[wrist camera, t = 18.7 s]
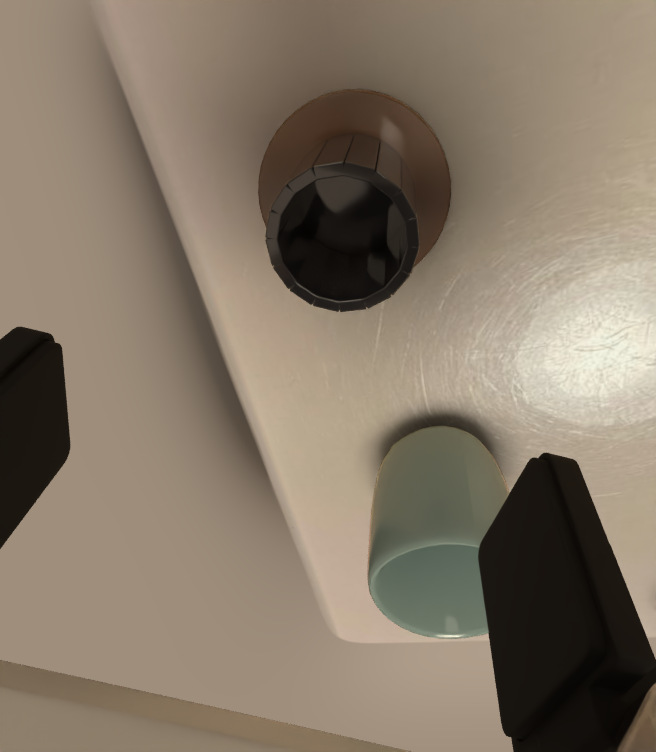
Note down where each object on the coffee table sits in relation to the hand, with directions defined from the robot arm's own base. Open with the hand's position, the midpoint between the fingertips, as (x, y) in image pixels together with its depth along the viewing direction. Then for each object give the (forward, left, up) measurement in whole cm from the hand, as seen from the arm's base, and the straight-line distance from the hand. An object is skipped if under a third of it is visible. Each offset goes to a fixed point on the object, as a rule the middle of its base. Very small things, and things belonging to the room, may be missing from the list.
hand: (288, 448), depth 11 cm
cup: (+17, +2, -18) cm, 25 cm away
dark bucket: (0, 0, -18) cm, 18 cm away
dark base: (0, 0, -18) cm, 18 cm away
